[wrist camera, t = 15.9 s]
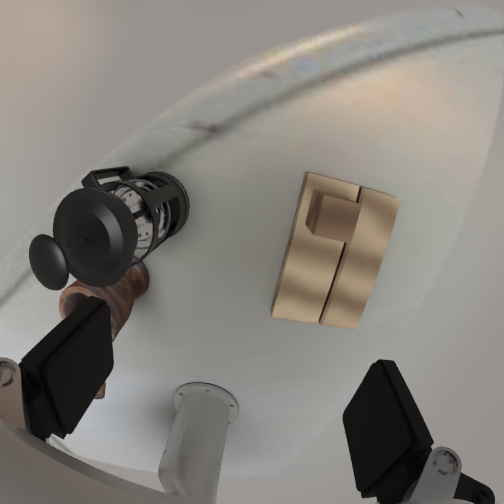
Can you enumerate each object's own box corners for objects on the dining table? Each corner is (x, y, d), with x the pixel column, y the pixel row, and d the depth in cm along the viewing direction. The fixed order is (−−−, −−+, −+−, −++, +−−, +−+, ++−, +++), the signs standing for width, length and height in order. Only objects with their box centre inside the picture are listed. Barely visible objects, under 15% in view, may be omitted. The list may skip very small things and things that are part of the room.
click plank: (315, 317, 42) (317, 323, 40) (270, 311, 41) (271, 317, 40) (355, 185, 35) (360, 186, 34) (306, 171, 35) (308, 172, 33)
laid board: (352, 324, 42) (355, 329, 40) (318, 318, 42) (319, 324, 40) (395, 197, 35) (400, 199, 34) (358, 185, 35) (362, 187, 34)
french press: (205, 219, 38) (128, 300, 16) (154, 254, 40) (59, 346, 18) (158, 147, 35) (35, 148, 14) (110, 188, 37) (-14, 228, 16)
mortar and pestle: (179, 292, 42) (124, 384, 23) (148, 323, 44) (92, 410, 25) (123, 238, 40) (35, 299, 21) (97, 274, 42) (19, 341, 23)
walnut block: (337, 231, 36) (350, 243, 31) (304, 224, 35) (313, 235, 31) (347, 197, 34) (361, 205, 30) (313, 189, 34) (324, 195, 29)
